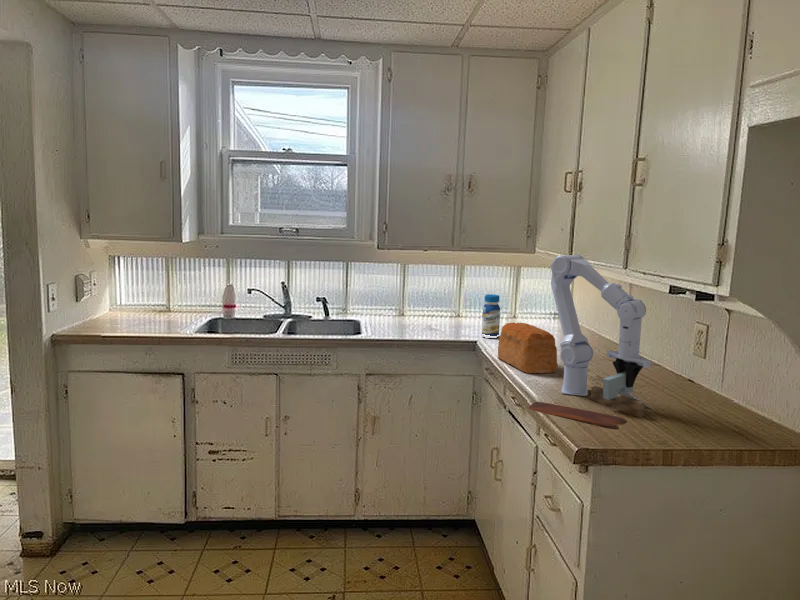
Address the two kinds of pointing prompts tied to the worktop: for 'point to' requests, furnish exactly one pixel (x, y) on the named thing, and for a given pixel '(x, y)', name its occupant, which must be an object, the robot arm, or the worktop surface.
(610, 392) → the grey notched plate
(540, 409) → the wooden tablet
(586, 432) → the worktop surface
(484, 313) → the beverage bottle
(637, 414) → the walnut slotted rail
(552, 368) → the bread
